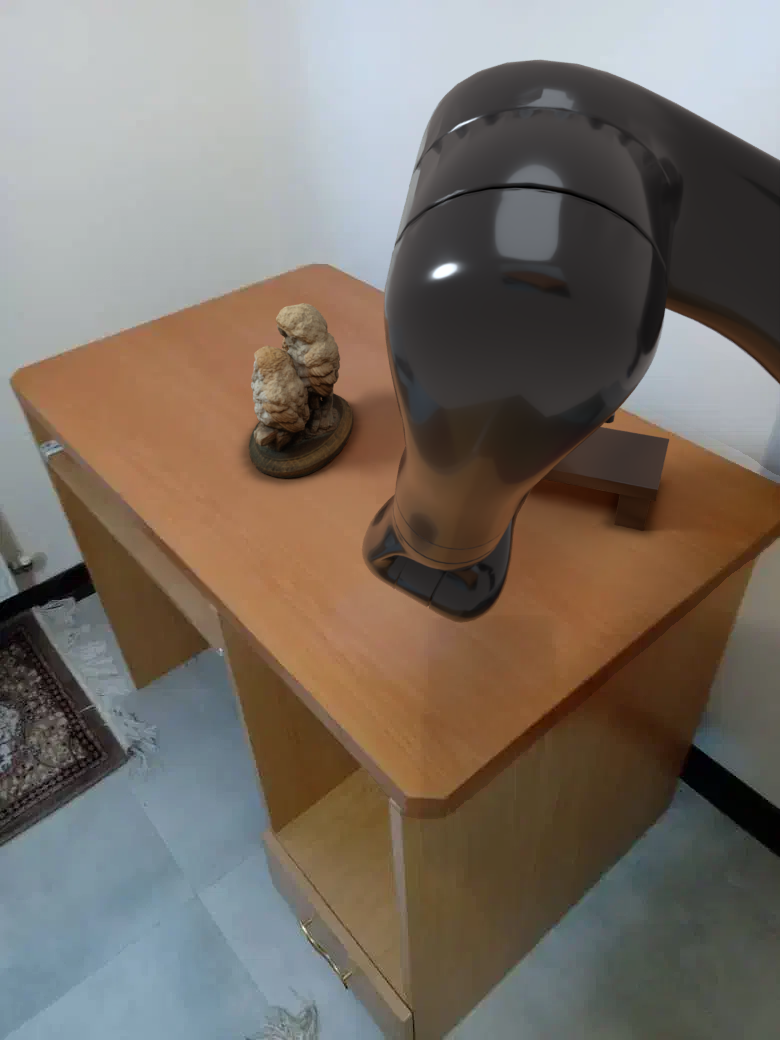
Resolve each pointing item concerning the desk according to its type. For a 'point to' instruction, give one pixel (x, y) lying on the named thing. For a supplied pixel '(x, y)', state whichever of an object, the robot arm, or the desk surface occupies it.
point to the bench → (617, 470)
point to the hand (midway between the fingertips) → (572, 346)
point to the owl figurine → (298, 398)
